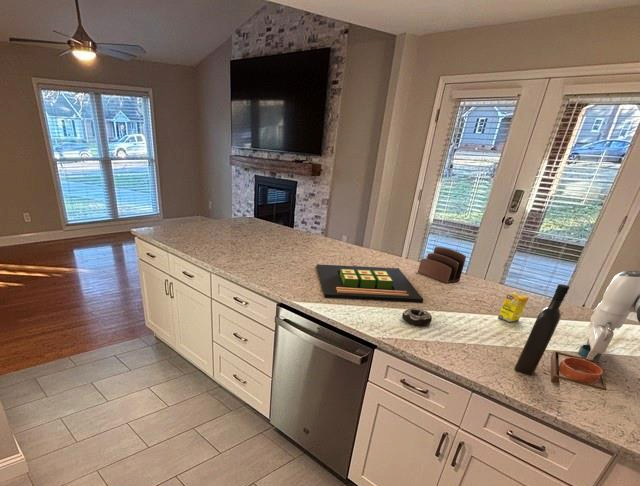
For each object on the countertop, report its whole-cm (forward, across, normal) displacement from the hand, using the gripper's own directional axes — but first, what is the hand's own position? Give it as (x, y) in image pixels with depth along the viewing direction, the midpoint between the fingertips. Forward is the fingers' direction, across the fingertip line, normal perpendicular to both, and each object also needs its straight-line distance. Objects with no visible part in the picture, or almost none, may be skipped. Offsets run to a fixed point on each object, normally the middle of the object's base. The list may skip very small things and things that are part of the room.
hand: (587, 353), depth 148 cm
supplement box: (+3, +23, +26) cm, 35 cm away
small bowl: (+2, 0, 0) cm, 2 cm away
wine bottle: (+3, -22, +19) cm, 29 cm away
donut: (+3, -3, +60) cm, 60 cm away
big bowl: (+2, -18, +4) cm, 18 cm away
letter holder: (+3, +64, +63) cm, 90 cm away
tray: (+2, -15, +4) cm, 16 cm away
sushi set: (+4, +29, +92) cm, 97 cm away
